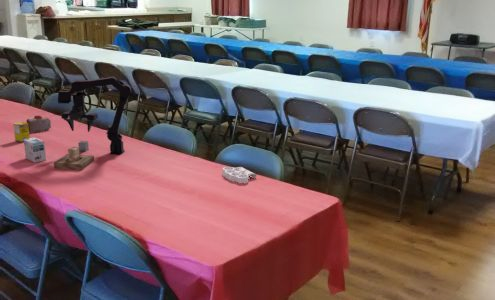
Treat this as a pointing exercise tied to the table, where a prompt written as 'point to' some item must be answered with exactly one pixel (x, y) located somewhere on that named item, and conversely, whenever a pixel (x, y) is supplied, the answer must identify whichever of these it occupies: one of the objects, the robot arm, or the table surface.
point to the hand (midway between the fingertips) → (80, 131)
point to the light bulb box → (34, 149)
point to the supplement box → (21, 131)
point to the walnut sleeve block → (74, 162)
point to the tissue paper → (237, 174)
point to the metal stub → (83, 146)
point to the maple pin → (74, 154)
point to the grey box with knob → (38, 124)
